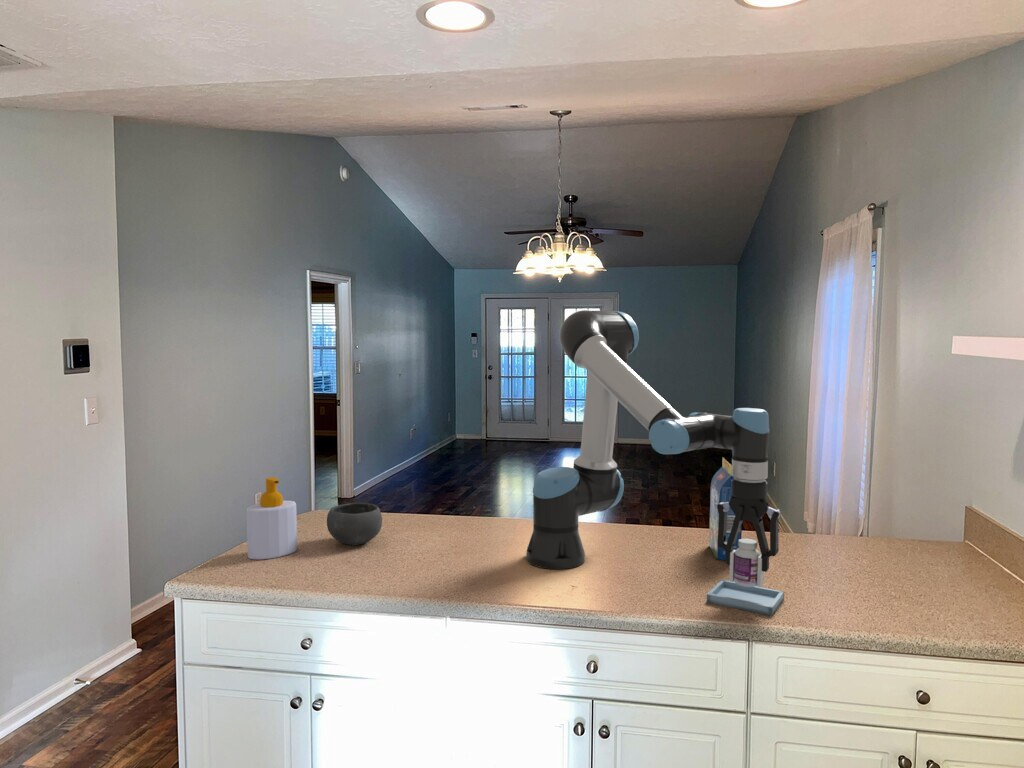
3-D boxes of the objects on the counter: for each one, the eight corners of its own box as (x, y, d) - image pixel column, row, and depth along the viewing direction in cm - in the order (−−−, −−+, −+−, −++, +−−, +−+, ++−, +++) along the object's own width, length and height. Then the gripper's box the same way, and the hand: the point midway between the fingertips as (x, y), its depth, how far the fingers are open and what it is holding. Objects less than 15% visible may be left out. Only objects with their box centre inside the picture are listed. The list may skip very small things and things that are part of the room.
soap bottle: (254, 563, 187) (252, 484, 185) (242, 555, 193) (240, 479, 191) (303, 552, 195) (301, 477, 194) (289, 545, 202) (288, 472, 200)
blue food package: (731, 546, 202) (734, 457, 200) (741, 560, 190) (744, 465, 188) (708, 546, 203) (710, 456, 201) (716, 560, 191) (719, 465, 189)
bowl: (356, 532, 215) (355, 498, 214) (392, 541, 206) (392, 506, 205) (315, 544, 203) (315, 509, 202) (352, 554, 194) (352, 517, 193)
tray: (706, 601, 162) (706, 594, 162) (721, 586, 171) (721, 579, 171) (771, 615, 155) (772, 607, 154) (783, 599, 164) (784, 591, 164)
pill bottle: (755, 589, 159) (757, 545, 158) (731, 584, 162) (732, 542, 161) (761, 582, 163) (763, 539, 163) (737, 577, 166) (738, 536, 165)
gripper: (702, 477, 162) (700, 579, 164) (789, 487, 152) (785, 595, 154) (713, 471, 169) (711, 570, 171) (797, 480, 159) (793, 585, 161)
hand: (746, 582), depth 162 cm, fingers closed on pill bottle, 5 cm apart
